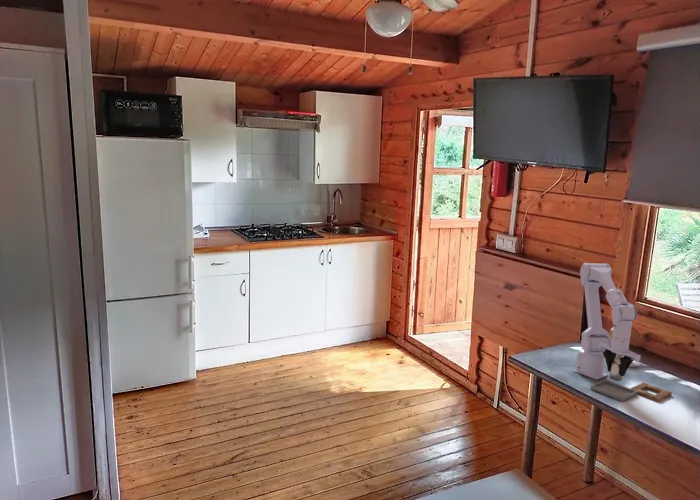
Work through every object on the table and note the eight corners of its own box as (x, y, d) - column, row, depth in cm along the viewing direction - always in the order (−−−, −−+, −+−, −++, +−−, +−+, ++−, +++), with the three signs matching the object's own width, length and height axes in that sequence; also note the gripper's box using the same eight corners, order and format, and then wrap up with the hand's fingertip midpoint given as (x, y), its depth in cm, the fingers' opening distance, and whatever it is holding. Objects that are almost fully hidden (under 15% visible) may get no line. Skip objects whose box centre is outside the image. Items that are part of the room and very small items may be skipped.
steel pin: (607, 377, 192) (609, 361, 191) (614, 375, 194) (616, 360, 193) (616, 381, 188) (618, 365, 187) (624, 380, 190) (626, 364, 189)
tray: (590, 389, 194) (590, 385, 193) (604, 383, 200) (605, 379, 199) (623, 402, 184) (623, 398, 184) (636, 395, 190) (637, 391, 190)
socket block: (629, 391, 193) (630, 388, 193) (642, 385, 199) (643, 382, 199) (658, 402, 185) (659, 399, 185) (671, 395, 191) (671, 392, 191)
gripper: (647, 342, 184) (642, 378, 187) (608, 329, 196) (604, 364, 199) (635, 345, 180) (630, 382, 183) (597, 332, 193) (592, 367, 195)
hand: (616, 373), depth 191 cm, fingers closed on steel pin, 4 cm apart
